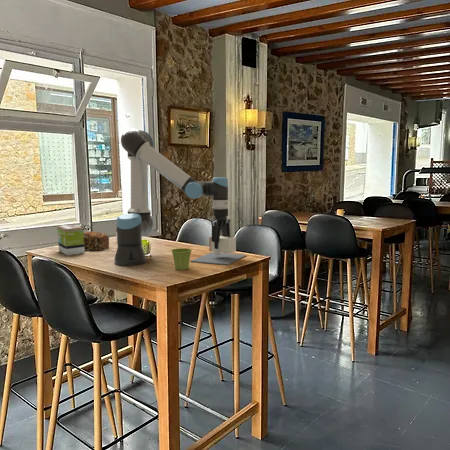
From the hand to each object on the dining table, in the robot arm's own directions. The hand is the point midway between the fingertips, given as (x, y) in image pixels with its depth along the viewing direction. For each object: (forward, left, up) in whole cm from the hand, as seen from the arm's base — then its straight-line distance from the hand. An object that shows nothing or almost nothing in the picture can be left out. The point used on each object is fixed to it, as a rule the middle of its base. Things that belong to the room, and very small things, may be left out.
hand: (221, 253), depth 217 cm
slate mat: (0, +1, -3) cm, 3 cm away
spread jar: (+26, +78, -3) cm, 82 cm away
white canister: (-1, -7, +5) cm, 8 cm away
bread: (-1, +83, -3) cm, 83 cm away
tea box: (-15, +84, -3) cm, 85 cm away
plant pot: (-26, +8, -3) cm, 27 cm away
